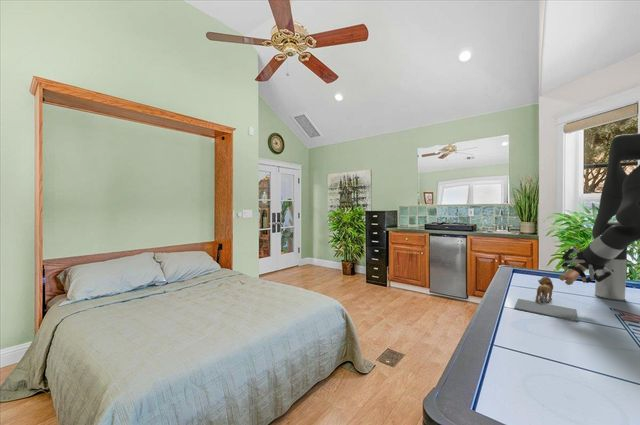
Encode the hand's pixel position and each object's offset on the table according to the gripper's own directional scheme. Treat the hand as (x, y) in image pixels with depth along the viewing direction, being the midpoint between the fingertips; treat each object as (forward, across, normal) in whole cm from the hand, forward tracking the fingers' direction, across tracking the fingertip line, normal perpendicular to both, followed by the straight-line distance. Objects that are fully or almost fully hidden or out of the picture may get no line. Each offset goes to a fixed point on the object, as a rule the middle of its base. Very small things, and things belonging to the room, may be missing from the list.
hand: (573, 274), depth 110 cm
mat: (+5, -2, +19) cm, 20 cm away
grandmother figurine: (-2, 0, +8) cm, 8 cm away
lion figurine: (+14, 0, +7) cm, 16 cm away
